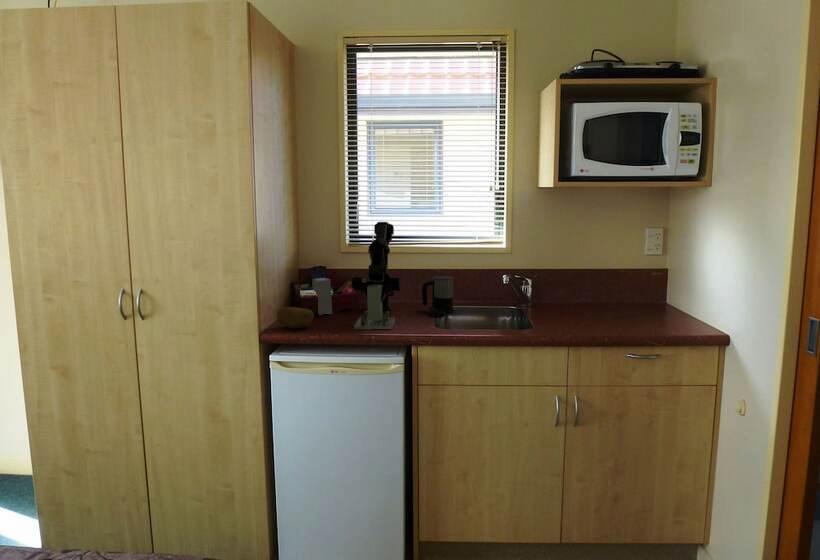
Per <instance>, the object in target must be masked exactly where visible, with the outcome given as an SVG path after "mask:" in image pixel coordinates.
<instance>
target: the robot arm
mask: <svg viewBox="0 0 820 560" xmlns="http://www.w3.org/2000/svg"><path fill="white" fill-rule="evenodd" d="M373 230H374V231H373V233H374V235H375V239H373V240H372V241H371V243H370V245H369V246H368V249H367V251H368V252H367V253H368V255H369V259H370V260H371V262H370V264H369V265H368V274H367V275H368V276H367V277H368V279H366V278H363V276H353V277H352V278H351V285H352V290H353V291H360V292H361V293H363V294H364V296H365V299H366V300H367V287H368V286H369V285H382V295H381V302H382V311H391V306H390V297H392V296H394V293H395V292H397V291H401V278H400V277H399V276H393V277H392V276H390V275H389V273H388V269H389V268H388V265H389V263H388V262H389V254H390V252H391V249H390V247H389V244H390V243H391V242H392V240H393V235H394V233H395V228H394V225H393V224H392V223H390V222H388V221H378V222H376V224H374V228H373ZM394 291H395V292H394Z"/></svg>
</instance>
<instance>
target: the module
mask: <svg viewBox="0 0 820 560" xmlns="http://www.w3.org/2000/svg"><path fill="white" fill-rule="evenodd" d="M381 295H382V285H369V286H368V287H367V299H366V302H367V304H366V305H367V311H368V320H381V318H382V317H383V310H382V302H381Z"/></svg>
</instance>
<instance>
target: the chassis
mask: <svg viewBox="0 0 820 560" xmlns="http://www.w3.org/2000/svg"><path fill="white" fill-rule="evenodd" d="M384 315H385V316H384ZM384 315H382V318H381V320H368V310H364V311H363V316H362V315H361V316H360V317H359V318H358V320H357V321H356V322H355V324H354V325H353V330H372V329H391V330H392V329H393V327H394V324H395V321H396V318H395V317H393V316H392V317H390V311H389V310H385V313H384ZM392 326H393V327H392Z"/></svg>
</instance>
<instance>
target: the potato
mask: <svg viewBox="0 0 820 560" xmlns="http://www.w3.org/2000/svg"><path fill="white" fill-rule="evenodd" d="M314 313H315V312H314V311H313V310H311V309H309V308H302V307H295V306H284V307H281V308H279V309H278V310H277V313H276V317H277V320H278V321H279V323H280V324H282V326H284V327H285V328H289V329H300V328H305V327H307V326H308V325H309V324H310V323H312V322H313V320H314V316H315V314H314Z"/></svg>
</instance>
